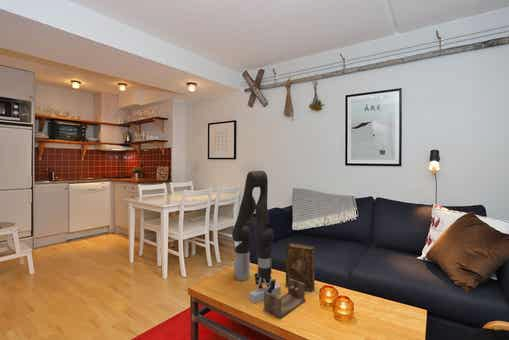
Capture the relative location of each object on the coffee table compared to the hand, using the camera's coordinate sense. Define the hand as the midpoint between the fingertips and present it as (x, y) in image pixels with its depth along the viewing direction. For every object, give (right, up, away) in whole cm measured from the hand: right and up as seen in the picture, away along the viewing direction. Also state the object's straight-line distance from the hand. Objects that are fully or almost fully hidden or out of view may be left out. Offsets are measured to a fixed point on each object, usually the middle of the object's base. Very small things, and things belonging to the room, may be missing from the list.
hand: (264, 294), depth 149 cm
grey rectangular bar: (0, -1, 0) cm, 1 cm away
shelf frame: (+10, -2, -9) cm, 14 cm away
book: (+22, -1, +10) cm, 24 cm away
